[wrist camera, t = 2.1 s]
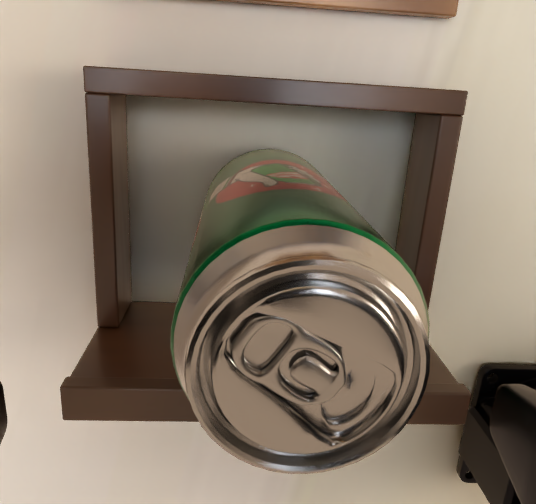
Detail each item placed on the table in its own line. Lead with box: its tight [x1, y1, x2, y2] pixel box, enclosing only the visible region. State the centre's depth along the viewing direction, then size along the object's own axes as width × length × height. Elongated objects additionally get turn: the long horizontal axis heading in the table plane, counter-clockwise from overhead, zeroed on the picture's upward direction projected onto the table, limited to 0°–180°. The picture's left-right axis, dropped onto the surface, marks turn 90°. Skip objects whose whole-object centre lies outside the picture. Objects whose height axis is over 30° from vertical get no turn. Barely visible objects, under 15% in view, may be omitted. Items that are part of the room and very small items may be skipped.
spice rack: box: [60, 66, 471, 425], centre depth 17 cm, size 13×10×7 cm
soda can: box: [170, 149, 430, 474], centre depth 14 cm, size 5×5×12 cm
